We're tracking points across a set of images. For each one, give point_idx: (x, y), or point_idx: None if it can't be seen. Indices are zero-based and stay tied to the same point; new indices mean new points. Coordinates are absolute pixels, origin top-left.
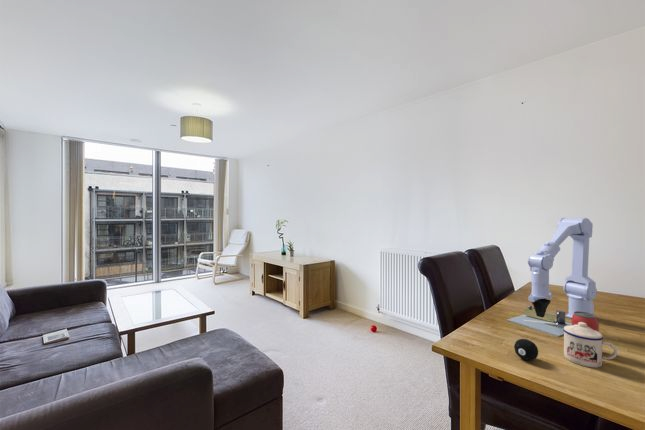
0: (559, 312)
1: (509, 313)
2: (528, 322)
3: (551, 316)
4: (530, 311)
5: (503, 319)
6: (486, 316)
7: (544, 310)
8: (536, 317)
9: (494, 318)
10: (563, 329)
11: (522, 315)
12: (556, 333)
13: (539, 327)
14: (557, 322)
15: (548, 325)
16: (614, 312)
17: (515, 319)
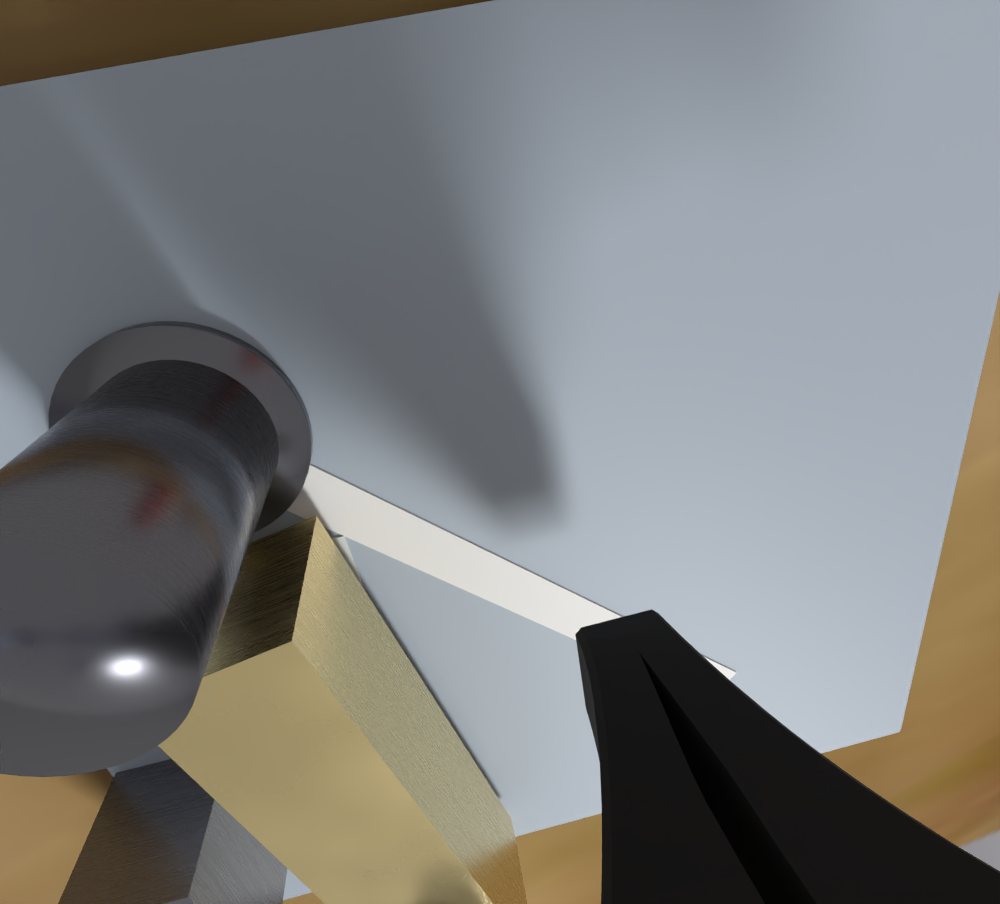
0: (184, 623)
1: (559, 896)
2: (762, 608)
3: (329, 633)
4: (501, 876)
5: (875, 751)
6: (935, 831)
7: (725, 760)
8: (448, 730)
9: (931, 782)
10: None
11: (514, 827)
12: (969, 22)
13: (869, 397)
14: (274, 470)
15: (585, 432)
16: None
17: (798, 721)
